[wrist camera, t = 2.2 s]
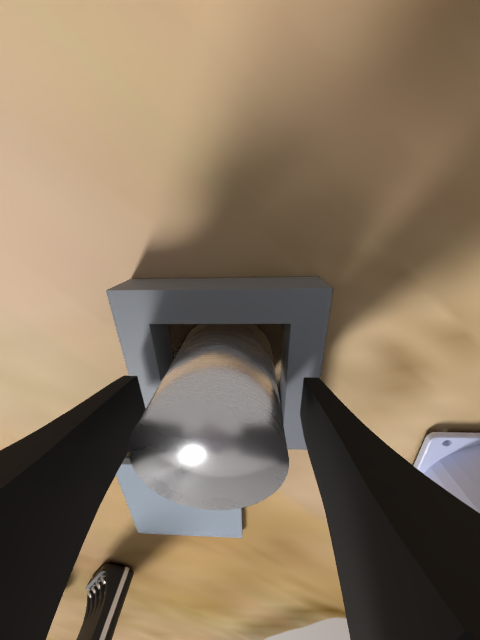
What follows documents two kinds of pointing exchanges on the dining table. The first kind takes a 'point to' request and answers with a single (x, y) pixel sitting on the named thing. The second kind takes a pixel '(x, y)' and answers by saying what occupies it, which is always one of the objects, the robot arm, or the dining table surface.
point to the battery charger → (105, 602)
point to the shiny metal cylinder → (214, 423)
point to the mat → (173, 511)
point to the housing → (225, 308)
